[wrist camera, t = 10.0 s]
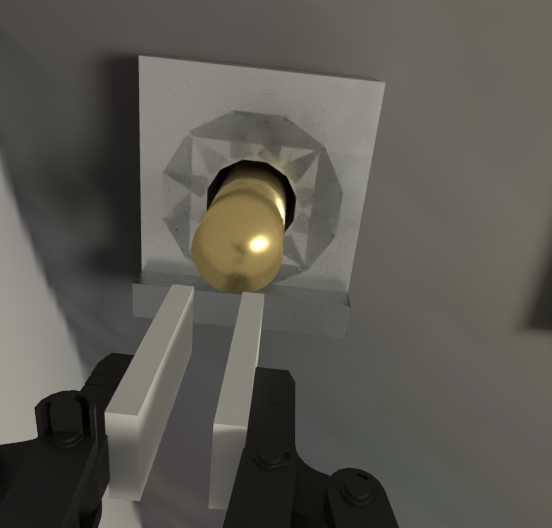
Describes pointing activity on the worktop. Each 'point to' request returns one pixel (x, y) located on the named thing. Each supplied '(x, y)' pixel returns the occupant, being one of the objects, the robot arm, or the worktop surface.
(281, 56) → the worktop surface
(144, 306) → the jig
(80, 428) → the robot arm
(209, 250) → the gold brass cylinder
